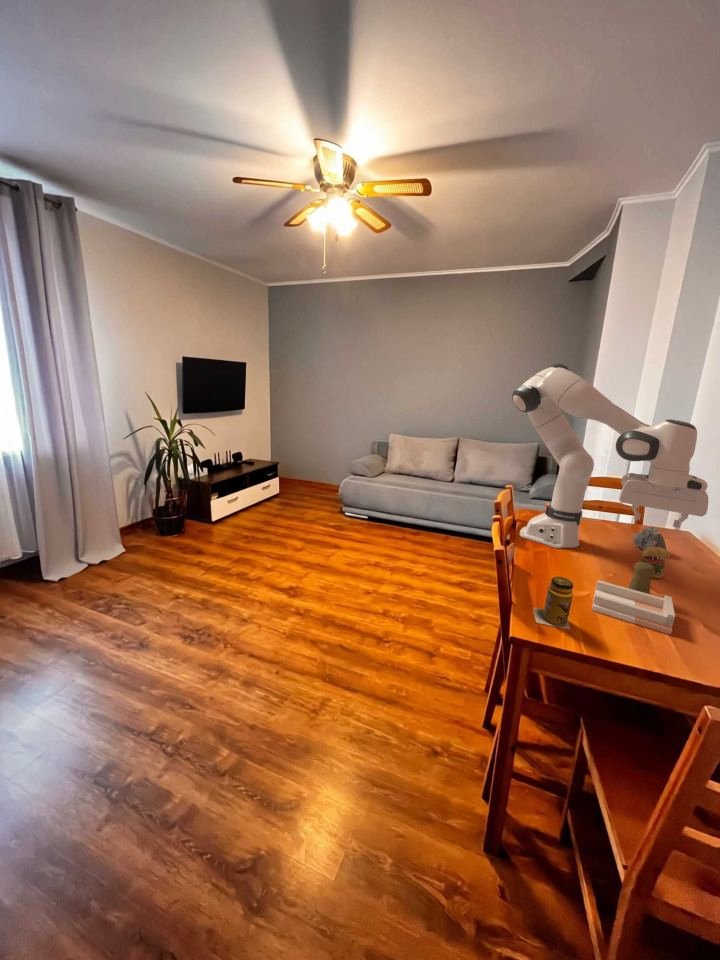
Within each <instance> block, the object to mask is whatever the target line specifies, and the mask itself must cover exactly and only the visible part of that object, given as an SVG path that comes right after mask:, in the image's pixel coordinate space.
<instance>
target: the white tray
mask: <svg viewBox="0 0 720 960" xmlns="http://www.w3.org/2000/svg"><path fill="white" fill-rule="evenodd" d="M592 602H593V603H592V608H591V611H593V612H596V613H599V614H602V615H606V616H609V617H612V618H616V619H618V620H621V619H622V620H621V621H625V622H629V623H631V624H634V625H638V626H641V627H644V628H648V629H651V630H653V631H656V630H657V632H659V631H660V633H662V634H667V635H669V634H670V635H669V636H671V635H672V634H673V633H672V632H673V625H674V622H675V618H676V614H675V613H676V612H675V609H674V604H673V600H672V596H670V595H664V596H663V597H661V596H656V595H654V594H651V593H650V594H647V593H643V592H639V591H636V590H632V589H629V588H628V587H625V586H621V585H616V584H614V583H611V582H606V581H603V580H599V579H597V581H596V585H595V591H594V596H593V601H592Z"/></svg>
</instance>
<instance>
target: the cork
mask: <svg viewBox="0 0 720 960" xmlns="http://www.w3.org/2000/svg"><path fill="white" fill-rule="evenodd" d="M633 570H634V573H633V575H632V577H631V580H630V582H629V584H628V586H627V588H629V589H632V590H636V591H639V592H643V593H647V594H650V595H651V580H652V577H651V576H653V575H654V573H655V568H654V567H653V566H652V565H651V564H648V563H645V562H641V561H638V562H635V563H634V565H633Z"/></svg>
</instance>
